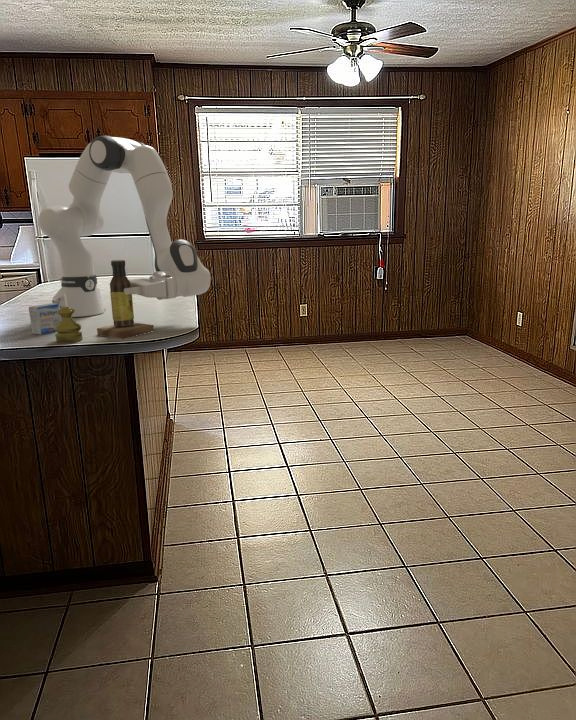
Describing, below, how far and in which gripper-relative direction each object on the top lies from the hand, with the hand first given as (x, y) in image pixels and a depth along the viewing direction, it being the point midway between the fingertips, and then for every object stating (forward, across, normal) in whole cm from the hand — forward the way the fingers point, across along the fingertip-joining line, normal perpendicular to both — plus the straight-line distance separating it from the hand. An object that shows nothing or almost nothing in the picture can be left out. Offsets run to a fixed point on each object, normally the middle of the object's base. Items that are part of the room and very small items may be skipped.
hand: (118, 289), depth 170 cm
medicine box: (+18, -20, +14) cm, 30 cm away
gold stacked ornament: (+16, -1, +14) cm, 21 cm away
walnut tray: (-1, 0, +14) cm, 14 cm away
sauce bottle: (-1, -1, +11) cm, 12 cm away
